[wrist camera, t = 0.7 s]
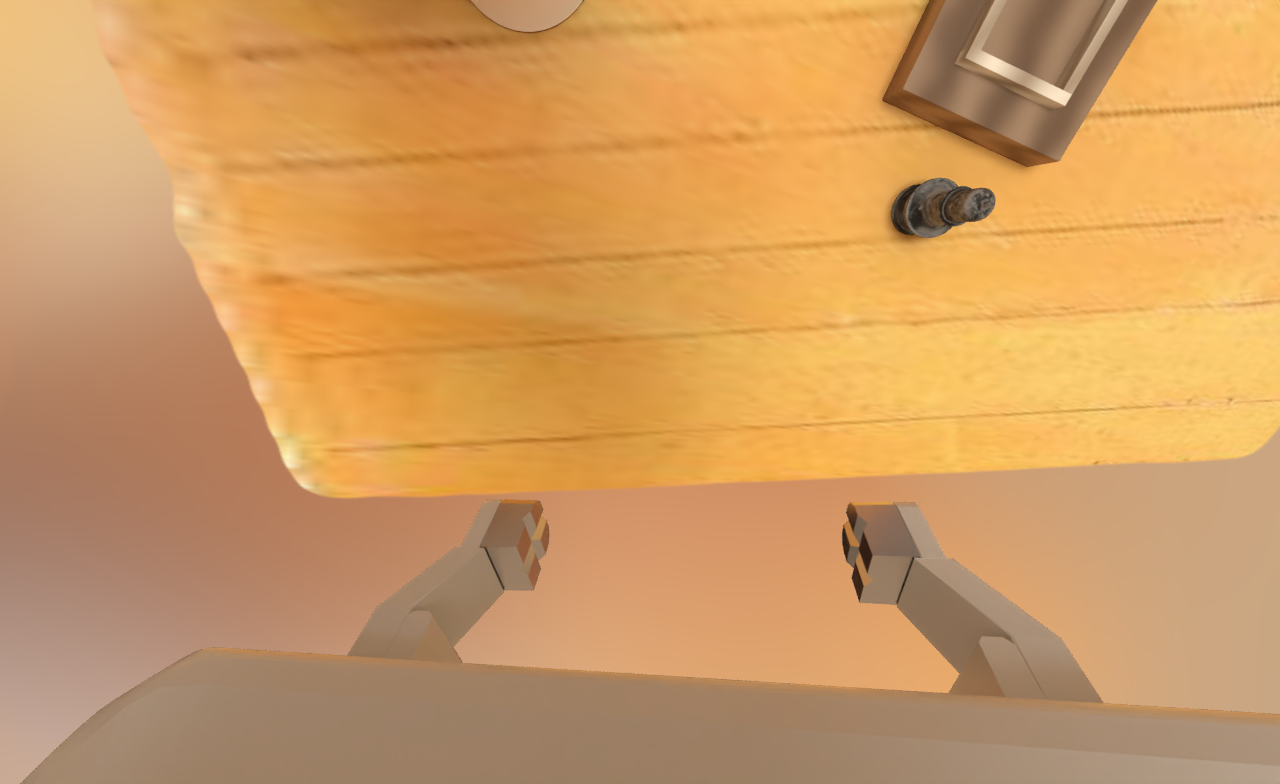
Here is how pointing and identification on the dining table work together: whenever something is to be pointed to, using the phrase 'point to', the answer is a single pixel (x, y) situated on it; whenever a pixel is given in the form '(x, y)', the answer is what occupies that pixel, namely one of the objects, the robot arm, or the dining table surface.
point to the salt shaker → (939, 207)
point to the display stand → (1014, 69)
